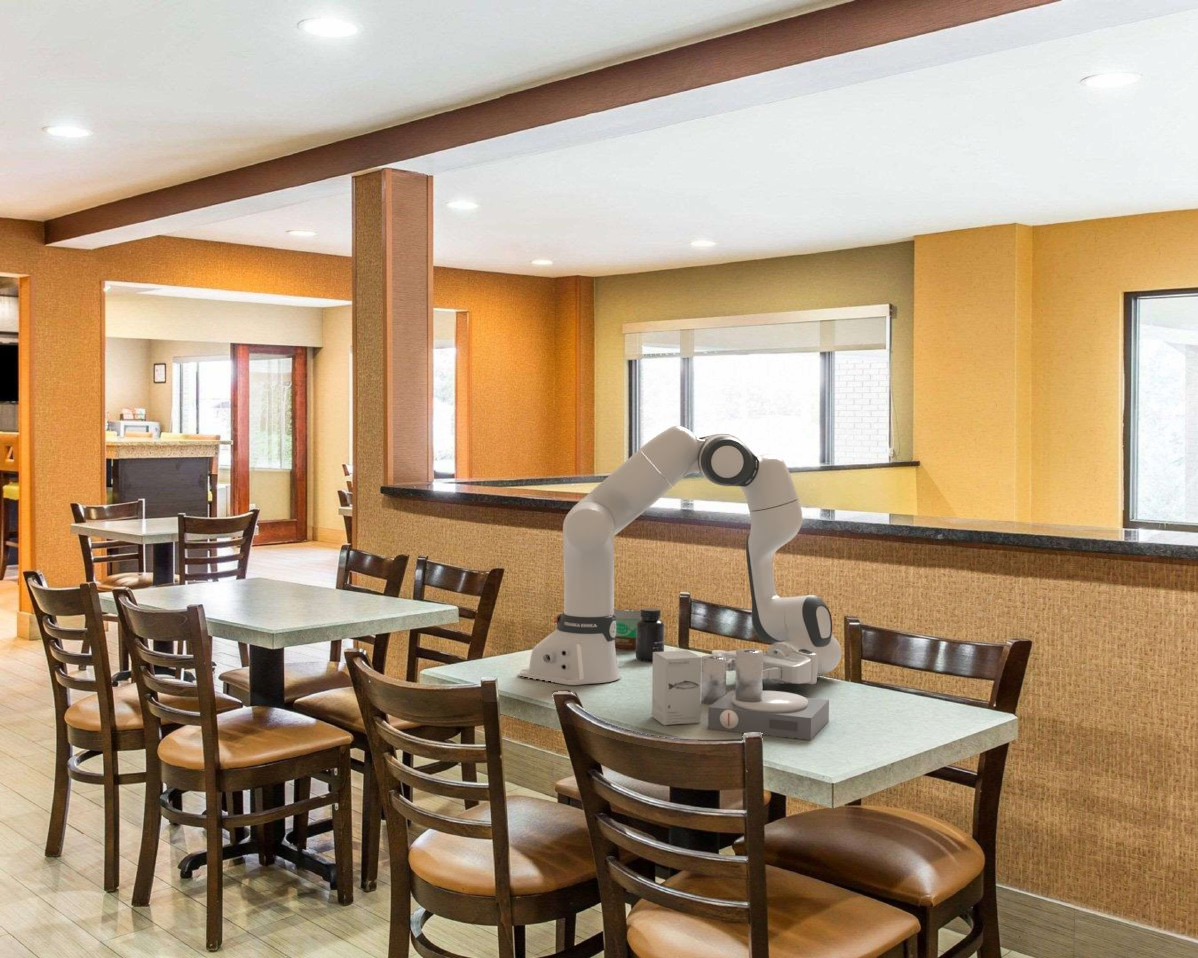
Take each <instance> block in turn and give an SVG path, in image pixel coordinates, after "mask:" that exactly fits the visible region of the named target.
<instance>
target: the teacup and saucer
mask: <svg viewBox="0 0 1198 958" xmlns="http://www.w3.org/2000/svg"><path fill="white" fill-rule="evenodd" d="M725 652H727V651H726V650H722V649H715V650H712V651H711V654H712V655H719V656H724V653H725Z"/></svg>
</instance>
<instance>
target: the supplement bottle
mask: <svg viewBox="0 0 1198 958" xmlns="http://www.w3.org/2000/svg"><path fill="white" fill-rule="evenodd" d="M640 610H641V615H640V617H641V620H639V621H638V622H637V624H636V650H635V659H636V660H637V661H642V662H653V652H665V623H664V621H662V620H661V619H660V618H661V617H662V616H661V609H659V608H652V607H650V608H649V607H646V608H641V609H640Z"/></svg>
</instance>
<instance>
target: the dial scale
mask: <svg viewBox="0 0 1198 958" xmlns="http://www.w3.org/2000/svg"><path fill="white" fill-rule="evenodd" d="M707 711H708V712H707V714H708V715H707V716H708V717H707V729H709V730H715V731H716V730H717V731H718V730H719V731H723V732H724V731H726V732H732V733H733V732H734V733H742V734H745V733H744V732H761V733H763V735H762V736H768V735H772V736H771V737H776V736H780V737H779V738H785V737H789V738H788V739H794V738H797V739H796V740H802V739H805V740H804V741H812V740H813V739H814V738H815V737H816V735H818V734H819V732H820V731H821V730H822V729H823V728H824V726H826V724H827V723H829V719H830V717H829V715H830V700H829V699H821V698H813V697H804V696H802V695H800V694H797V693H792V692H787V691H777V690H763V697H762V701H760V702H741V701H737V700H736V699H735V689H731V690H730V691H729V692H726V695H725V696H723V697H722V698H720V699H719V700H718V701H716V702H715V703H713V704H712V705H709V706H708V709H707ZM811 739H812V740H811Z"/></svg>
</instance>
